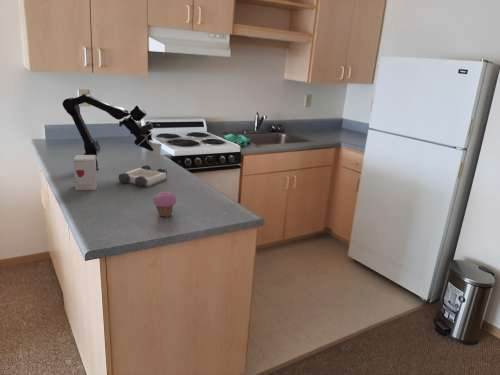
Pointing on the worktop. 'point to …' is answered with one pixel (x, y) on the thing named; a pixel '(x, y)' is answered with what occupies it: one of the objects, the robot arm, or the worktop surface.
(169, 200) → the cupcake
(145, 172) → the chassis
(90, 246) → the worktop surface
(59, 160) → the worktop surface
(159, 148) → the small box
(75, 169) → the supplement box
